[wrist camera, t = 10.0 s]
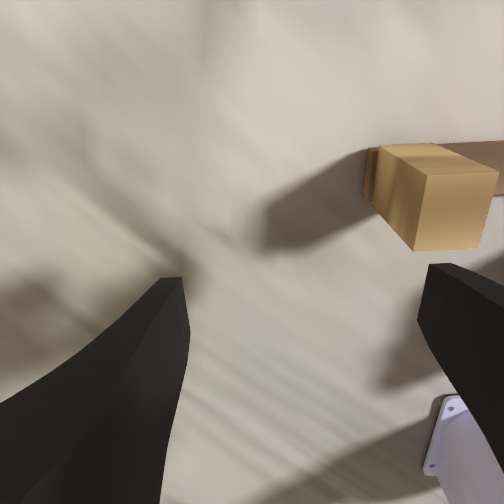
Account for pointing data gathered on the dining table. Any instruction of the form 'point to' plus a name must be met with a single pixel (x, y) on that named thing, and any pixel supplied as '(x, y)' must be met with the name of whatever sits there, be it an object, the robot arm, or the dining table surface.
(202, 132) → the dining table surface
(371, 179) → the wooden t-shaped handle
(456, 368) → the robot arm
